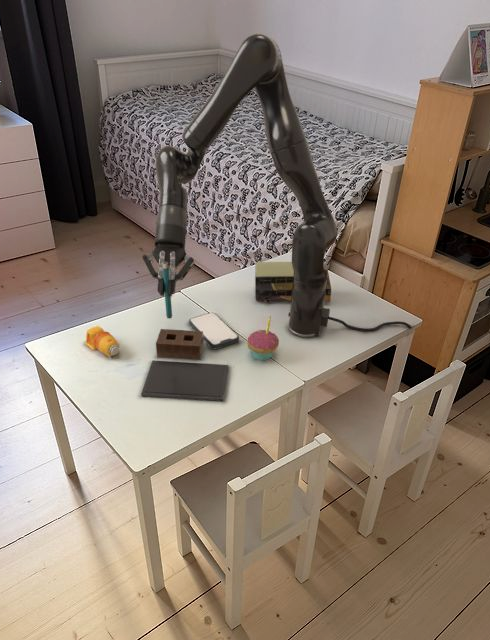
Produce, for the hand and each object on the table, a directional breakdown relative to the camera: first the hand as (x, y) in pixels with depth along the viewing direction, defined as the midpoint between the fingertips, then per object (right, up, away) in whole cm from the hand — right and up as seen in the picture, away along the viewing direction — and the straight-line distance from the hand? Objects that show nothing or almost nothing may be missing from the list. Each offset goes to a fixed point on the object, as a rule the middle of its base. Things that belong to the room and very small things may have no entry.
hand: (165, 295), depth 134 cm
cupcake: (+24, -14, +13) cm, 31 cm away
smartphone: (+10, -7, +21) cm, 24 cm away
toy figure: (-19, -13, +13) cm, 26 cm away
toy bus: (+34, +6, +38) cm, 51 cm away
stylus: (0, -5, +7) cm, 8 cm away
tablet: (+5, -21, +3) cm, 22 cm away
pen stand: (+2, -13, +13) cm, 19 cm away
